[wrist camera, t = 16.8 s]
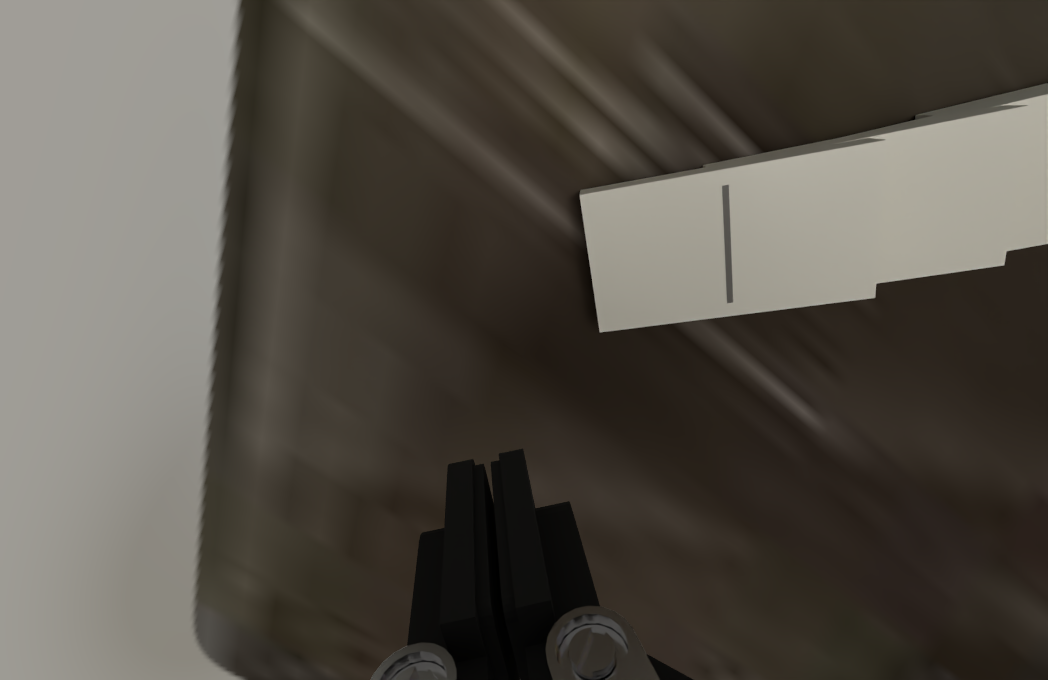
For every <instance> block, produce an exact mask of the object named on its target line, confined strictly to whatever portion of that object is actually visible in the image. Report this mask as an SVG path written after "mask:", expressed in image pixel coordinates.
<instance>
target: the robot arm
mask: <svg viewBox="0 0 1048 680" xmlns="http://www.w3.org/2000/svg"><path fill="white" fill-rule="evenodd" d="M499 459H500V460H499V461H494V462H491V472H492V485H493V498H494V503H493V499H492V495H491V491H490V487H489V483H488V479H487V474H486V470H485V467H484V464H480V465H475V463H474V460H473V459H471V460H466V461H462V462H457V463H452V464H449V465H448V472H447V490H446V509H445V528H442V529H437V530H433V531H428V532H423V533H422V534H421V535H420V540H419V548H418V556H417V565H416V574H415V583H414V591H413V600H412V609H411V618H410V627H409V635H408V644H407V646H406V647H404V648H402V649H400V650H398V651H396V652H395V653H393V654H392V655H391V656H390V657H389V658H387V659H386V660H385V661H384V662H383V663H382V664H381V665H380V667H379V668H378V669H377V670H376V672H375V673H374V674H373V676H372V678H371V680H520V679H521V680H693V679H691V678H689V677H687V676H686V675H684V674H682V673H680V672H678V671H676V670H675V669H673V668H671V667H669V666H667V665H666V664H664V663H662V662H660V661H658V660H656V659H655V658H653V657H651V656H649V655H647V654H646V652H645V651H644V649H643V647H642V645H641V643H640V641H639V639H638V637H637V635H636V633H635V631H634V630H633V628H632V627H631V626H630V624H629V623H628V622H627V620H626V619H625V618H623V617H622V616H621V615H619V614H618V613H617V612H615V611H613V610H610V609H607V608H604V607H601V606H600V605H599V601H598V598H597V594H596V591H595V588H594V584H593V581H592V577H591V574H590V570H589V567H588V563H587V560H586V556H585V553H584V549H583V546H582V542H581V539H580V535H579V532H578V528H577V525H576V521H575V518H574V515H573V511H572V508H571V504H570V502H564V503H559V504H555V505H550V506H545V507H540V508H536V509H535V505H534V500H533V495H532V490H531V485H530V480H529V476H528V471H527V466H526V461H525V456H524V451H523V449H519V450H514V451H509V452H505V453H500V454H499ZM519 675H520V676H519Z"/></svg>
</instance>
